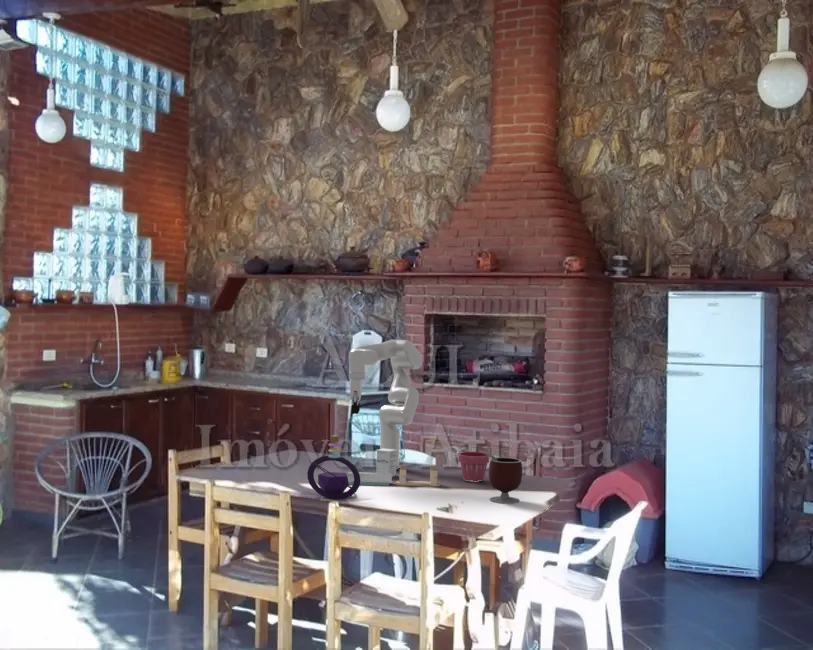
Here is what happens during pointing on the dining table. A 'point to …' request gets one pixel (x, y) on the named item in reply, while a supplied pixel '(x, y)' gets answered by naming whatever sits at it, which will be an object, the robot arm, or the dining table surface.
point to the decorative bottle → (333, 476)
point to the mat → (371, 483)
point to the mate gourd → (505, 478)
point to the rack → (418, 483)
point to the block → (371, 477)
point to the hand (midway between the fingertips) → (355, 412)
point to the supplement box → (386, 461)
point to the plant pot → (473, 465)
